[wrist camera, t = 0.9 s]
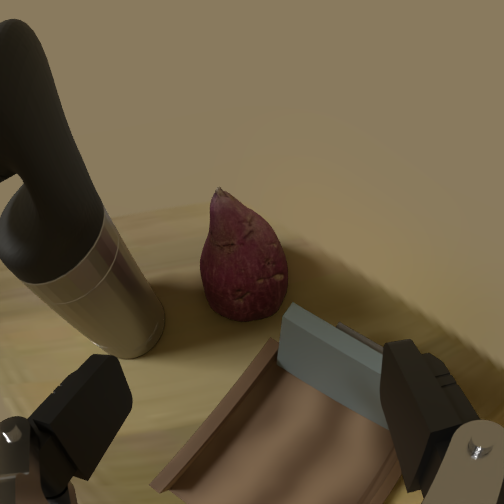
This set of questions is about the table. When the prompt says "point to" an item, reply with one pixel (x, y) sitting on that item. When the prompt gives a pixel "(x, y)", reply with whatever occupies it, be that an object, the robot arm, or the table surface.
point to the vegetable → (242, 262)
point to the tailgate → (333, 361)
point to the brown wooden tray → (282, 447)
